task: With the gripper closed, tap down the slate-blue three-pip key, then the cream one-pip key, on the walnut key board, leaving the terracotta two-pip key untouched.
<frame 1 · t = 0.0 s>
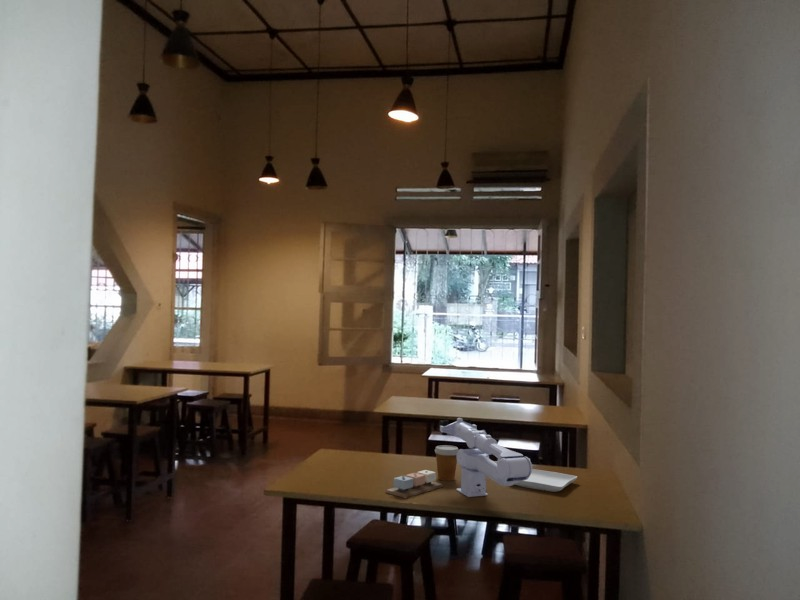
hand: (448, 422, 244), 22 cm above the table, tool horizontal, fingers open, 7 cm apart
disposable coffee cup: (446, 479, 245), on the table
key board: (414, 489, 228), on the table
key three: (403, 482, 223), point 4 cm above the table, slide at 0.0 cm
key one: (426, 475, 233), point 4 cm above the table, slide at 0.0 cm
key two: (415, 479, 228), point 4 cm above the table, slide at 0.0 cm
salad plate: (542, 486, 240), on the table
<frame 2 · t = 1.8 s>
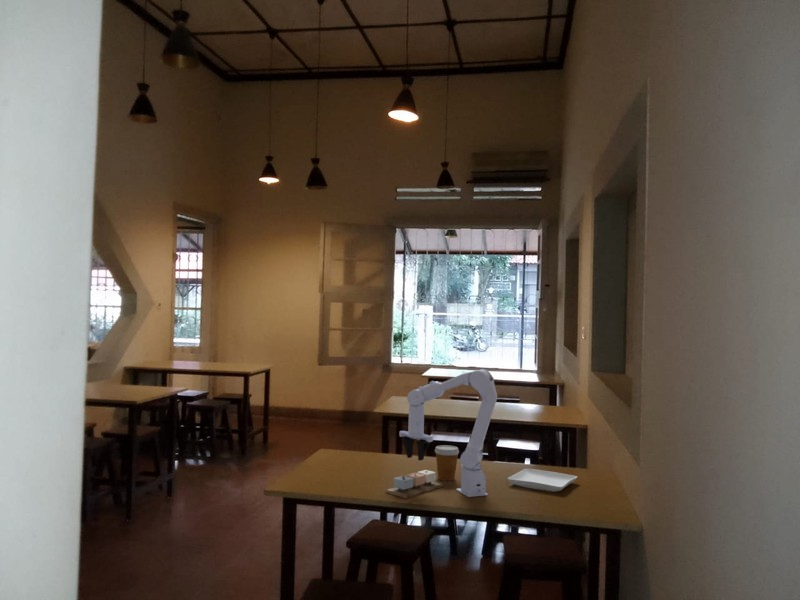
hand: (415, 458, 233), 10 cm above the table, tool pointing down, fingers open, 5 cm apart
nothing on the table moved.
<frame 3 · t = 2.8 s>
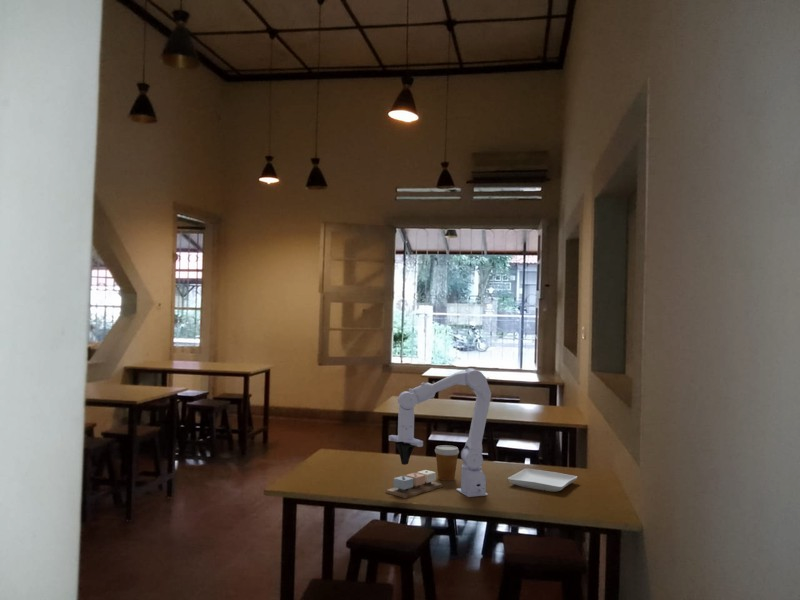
hand: (404, 464, 224), 10 cm above the table, tool pointing down, fingers closed
nothing on the table moved.
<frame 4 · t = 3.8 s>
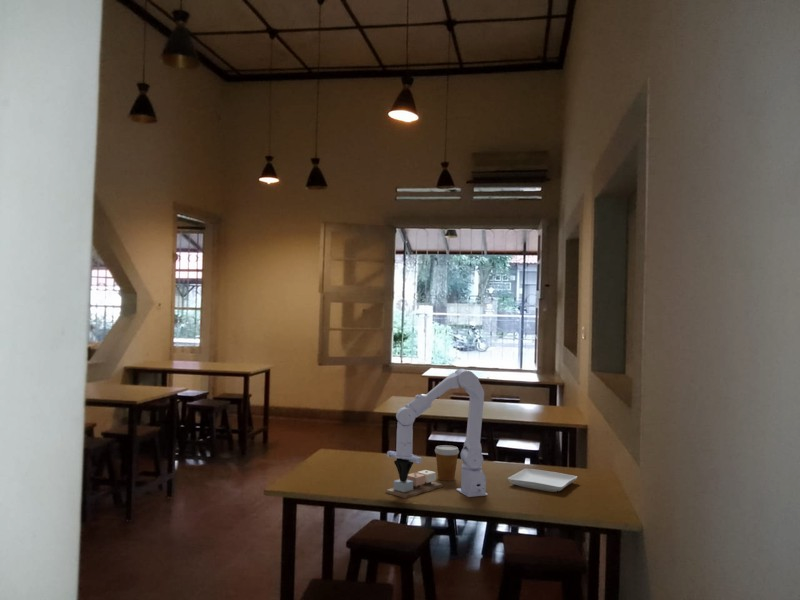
hand: (403, 480, 223), 4 cm above the table, tool pointing down, fingers closed, pressing on key three
key three: (403, 485, 223), point 3 cm above the table, slide at 1.0 cm, touching gripper
everything else where it was.
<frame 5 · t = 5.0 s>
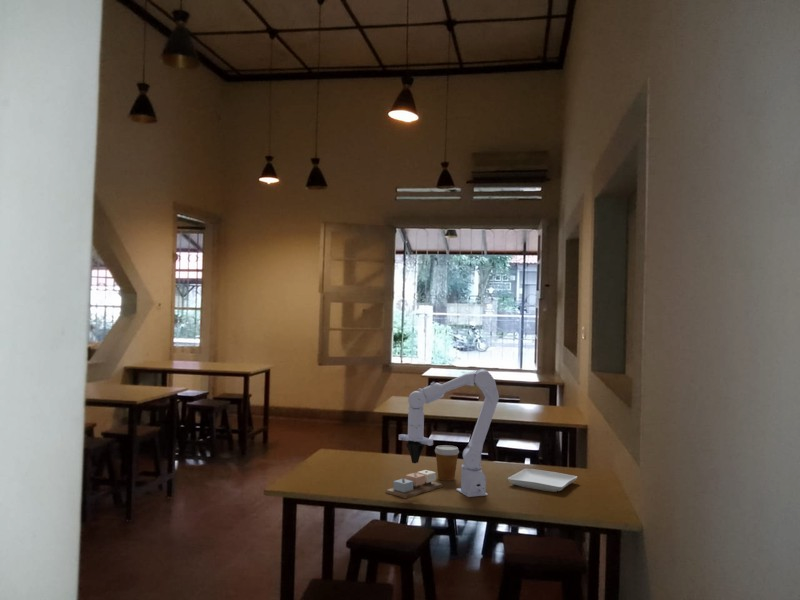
hand: (415, 462, 228), 10 cm above the table, tool pointing down, fingers closed
key three: (403, 485, 223), point 3 cm above the table, slide at 1.0 cm
everything else where it was.
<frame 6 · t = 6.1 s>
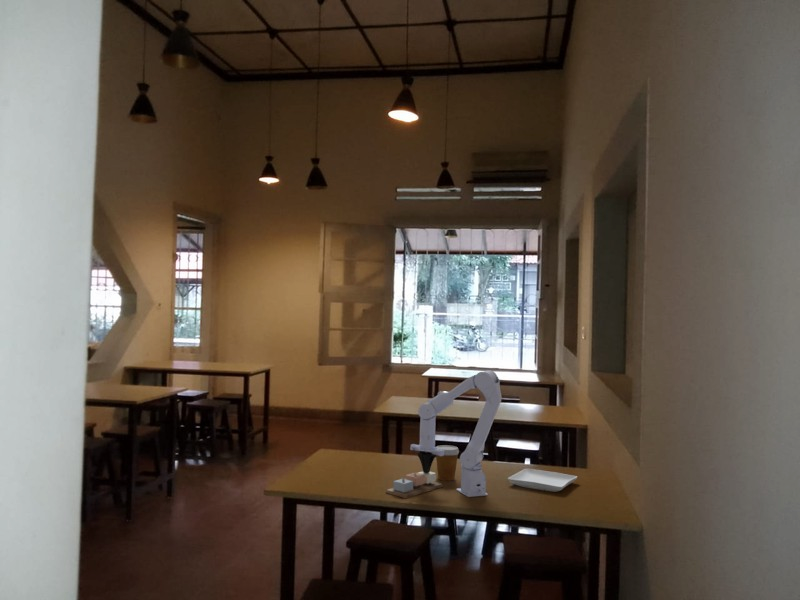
hand: (426, 472, 233), 5 cm above the table, tool pointing down, fingers closed, pressing on key one
key one: (426, 476, 233), point 4 cm above the table, slide at 0.3 cm, touching gripper
everything else where it was.
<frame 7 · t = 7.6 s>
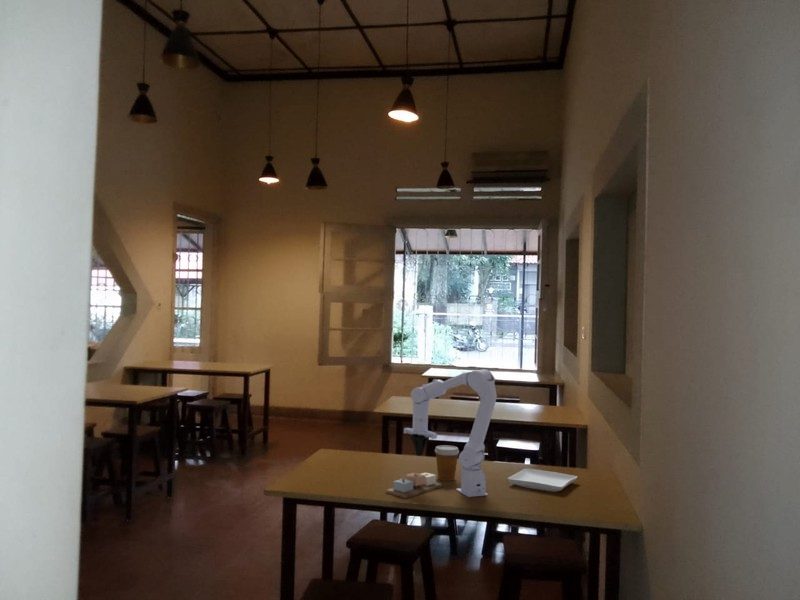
hand: (419, 455, 237), 10 cm above the table, tool pointing down, fingers closed
key one: (426, 478, 233), point 3 cm above the table, slide at 1.0 cm
everything else where it was.
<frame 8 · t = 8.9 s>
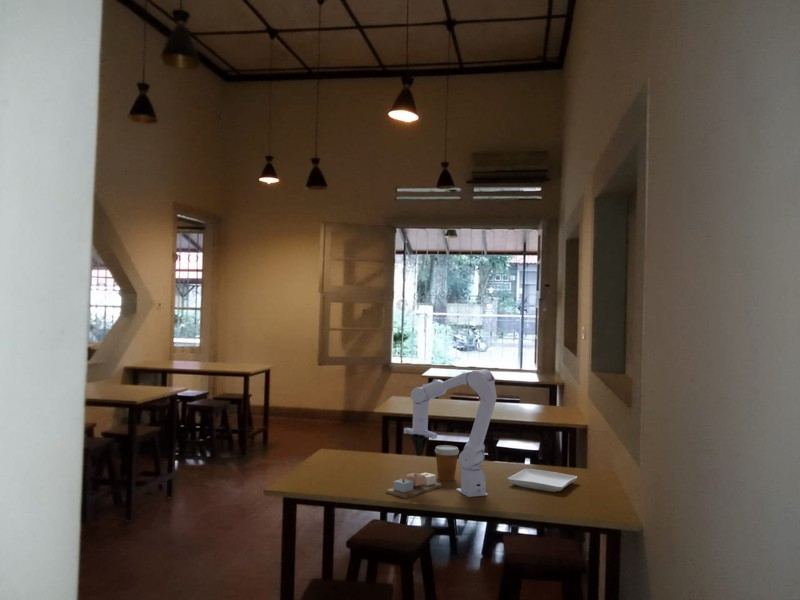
hand: (419, 455, 237), 10 cm above the table, tool pointing down, fingers closed
nothing on the table moved.
at the end: key three slide at 1.0 cm; key one slide at 1.0 cm; key two slide at 0.0 cm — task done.
